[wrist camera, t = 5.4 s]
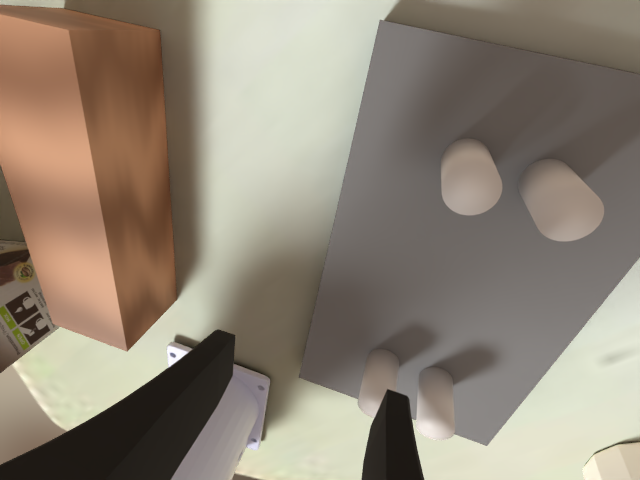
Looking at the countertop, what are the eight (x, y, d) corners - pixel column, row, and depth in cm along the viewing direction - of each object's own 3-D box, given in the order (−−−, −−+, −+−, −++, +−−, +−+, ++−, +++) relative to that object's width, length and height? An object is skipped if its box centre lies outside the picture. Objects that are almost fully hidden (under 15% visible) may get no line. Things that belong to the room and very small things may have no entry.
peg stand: (484, 430, 22) (493, 500, 19) (303, 365, 24) (282, 419, 21) (742, 95, 12) (864, 121, 8) (383, 20, 13) (365, 17, 10)
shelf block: (179, 297, 25) (127, 351, 20) (115, 275, 25) (52, 323, 21) (163, 30, 16) (68, 29, 12) (68, 8, 17) (-54, 1, 13)
